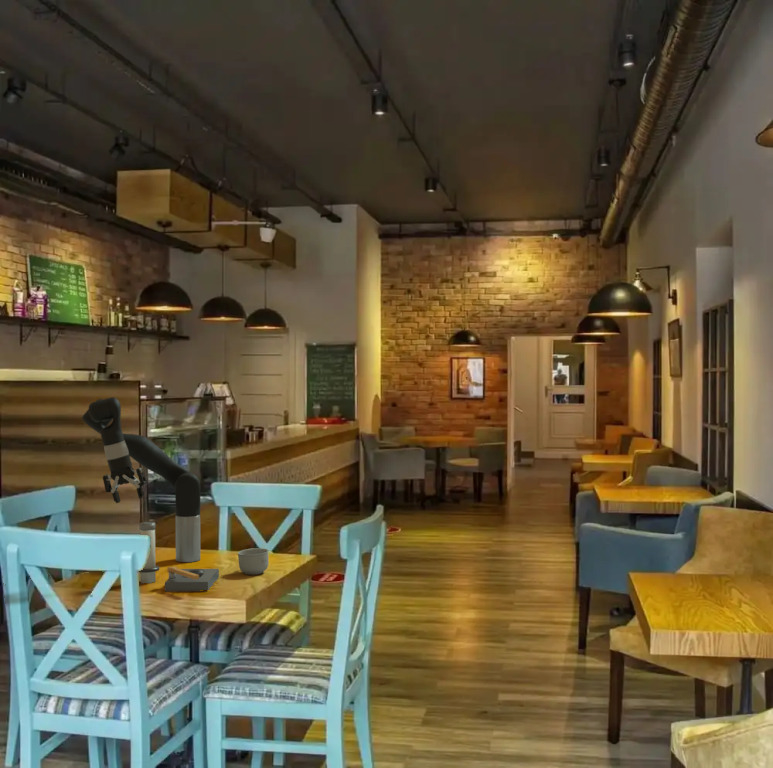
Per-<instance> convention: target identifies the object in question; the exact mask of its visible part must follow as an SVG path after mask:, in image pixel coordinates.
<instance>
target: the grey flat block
mask: <svg viewBox="0 0 773 768" xmlns="http://www.w3.org/2000/svg"><path fill="white" fill-rule="evenodd" d="M180 569H181V570H184V571H188V572H191V573H194V574H197V575H199V579H195V580H194V579H191V578H188V577H185V576H182V575H179V574H176V573H173V572H168V578H167V580H165V582H164V592H201V591H200V590H209V591H210V589H211V588H212V587H213V585H214V584H215V583H216V582H217V580H218V579H219V578H218V577H220V569H219V568H180ZM215 581H216V582H215ZM214 582H215V583H214ZM213 583H214V584H213ZM211 586H212V587H211ZM210 587H211V588H210ZM209 588H210V589H209Z"/></svg>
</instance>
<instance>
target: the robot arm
mask: <svg viewBox="0 0 773 768" xmlns="http://www.w3.org/2000/svg"><path fill="white" fill-rule="evenodd" d="M121 407H122V405H121V402H120V401H119V400H118V399H117V398H116V397H113V396H112V397H108V398H104V399H102V398H99V399H97V400H96V401H93V402H91V403H90V404H89V406H88V409H87V410H86V411H85V412H84V414H83V415H82V418H81V419H82V421H83V422H84V423H85V424H86V425H87V426H88V427H90V428H91V429H93V430H94V431H95V432H97V433H98V434H99V435H100V437H101V441H102V443H103V448H104V454H105V458H106V462H107V466H108V468H109V471H110V474H109V473H107V474H105V475H103V476H102V480H103V481H102V482H103V484H104V490H105V492H106V493H111V495H112V499H113V501H114V502H115V503H116V504H119V503H121V497H120V494H119V491H118V489H119V486H122V485H124V484H127V485H128V484H131V485H133V486H134V487H136V492H137V496H138V499H142V498H144V496H145V493H144V488H143V486H144V485H145V484H147V478H146V476H145V473H144V470H143V467H144V468H145V469H147V470H149V471H151V472H153V473H155V474H156V475H159V476H160V477H162V479H165V481H167V482H168V483H169V484H170V485H171V486H172V487H173V488H174V490H175V496H174V497H175V507H174V509H175V510H174V511H175V562H177V563H178V562H180V563H192V562H194V563H195V562H198V561H201V482H200V479H199V477H198V476H197V475H196V474H194V473H193V472H191V471H189V470H188V469H186V468H184V467H182V466H181V465H180V464H178V462H176V461H174V460H173V459H172V458H171V457H170V456H169V455H168V454H167V453H166V452H164V451H163V449H162V448H160V446H158V445H157V444H155V443H154V442H153V441H152V440H150V439H149V438H147V437H146V436H145V435H139V434H135V433H134V434H130V433H123V429H122V423H121V422H122V421H121V417H122V416H121V415H122V414H121V413H122V409H121ZM131 458H132V459H133V460H134V461H136V463H138V464H140V465H141V466H142V467H140V466H139V467H138V468H136V469H134V468H133V464H132V463H133V462H132V459H131ZM135 474H136V475H137V476H138V478H137V477H136V476H135ZM111 479H112V480H113V483H111Z"/></svg>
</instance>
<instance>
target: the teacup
mask: <svg viewBox="0 0 773 768" xmlns="http://www.w3.org/2000/svg"><path fill="white" fill-rule="evenodd" d="M237 555H238V557H237V558H238V559H237V561H238V567H239V569H240V571H241V572H242V573H244V574H245V575H249V576H251V575H252V576H254V575H259V574H263V573H265V571H266V570H267V569H268V567H269V549H268V548H263V547H259V548H257V547H255V548H253V547H251V548H248V549H246V548H245V549H242V550H239V551H238V552H237Z"/></svg>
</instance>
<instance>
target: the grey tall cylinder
mask: <svg viewBox="0 0 773 768" xmlns="http://www.w3.org/2000/svg"><path fill="white" fill-rule="evenodd" d="M140 535H148V536H150V537H151V551H150V555H149V558H148V560H147V563H146V565H145V567H144V568H143V570H141V571H139V572H138V573H139V576H140V577H139V578H140V579H139V580H140V581H139V582H141V584H144V583H147V584H153V583H152V582H154V583H155V582H156V572H158V571H160V566H159V565H156V522H154V521H144V522H139V536H140Z"/></svg>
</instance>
